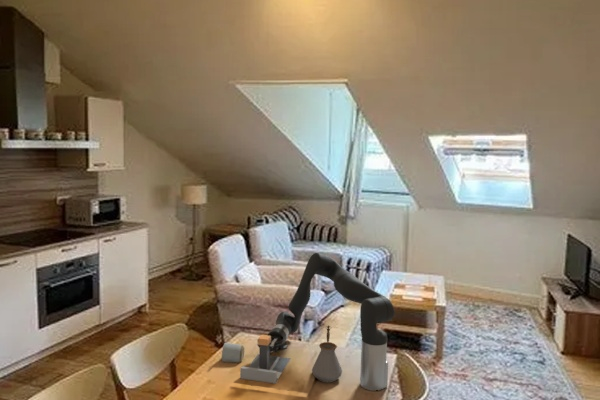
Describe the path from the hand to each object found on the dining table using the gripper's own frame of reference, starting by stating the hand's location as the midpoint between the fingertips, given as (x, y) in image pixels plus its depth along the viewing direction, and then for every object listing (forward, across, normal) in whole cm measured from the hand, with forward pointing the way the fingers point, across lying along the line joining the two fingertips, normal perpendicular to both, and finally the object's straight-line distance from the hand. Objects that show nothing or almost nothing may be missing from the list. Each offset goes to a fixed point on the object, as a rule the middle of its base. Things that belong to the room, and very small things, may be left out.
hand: (265, 352), depth 191 cm
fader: (+2, 0, +7) cm, 7 cm away
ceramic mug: (-6, -16, +8) cm, 19 cm away
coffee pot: (-7, +23, +8) cm, 25 cm away
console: (-1, 0, +8) cm, 8 cm away
